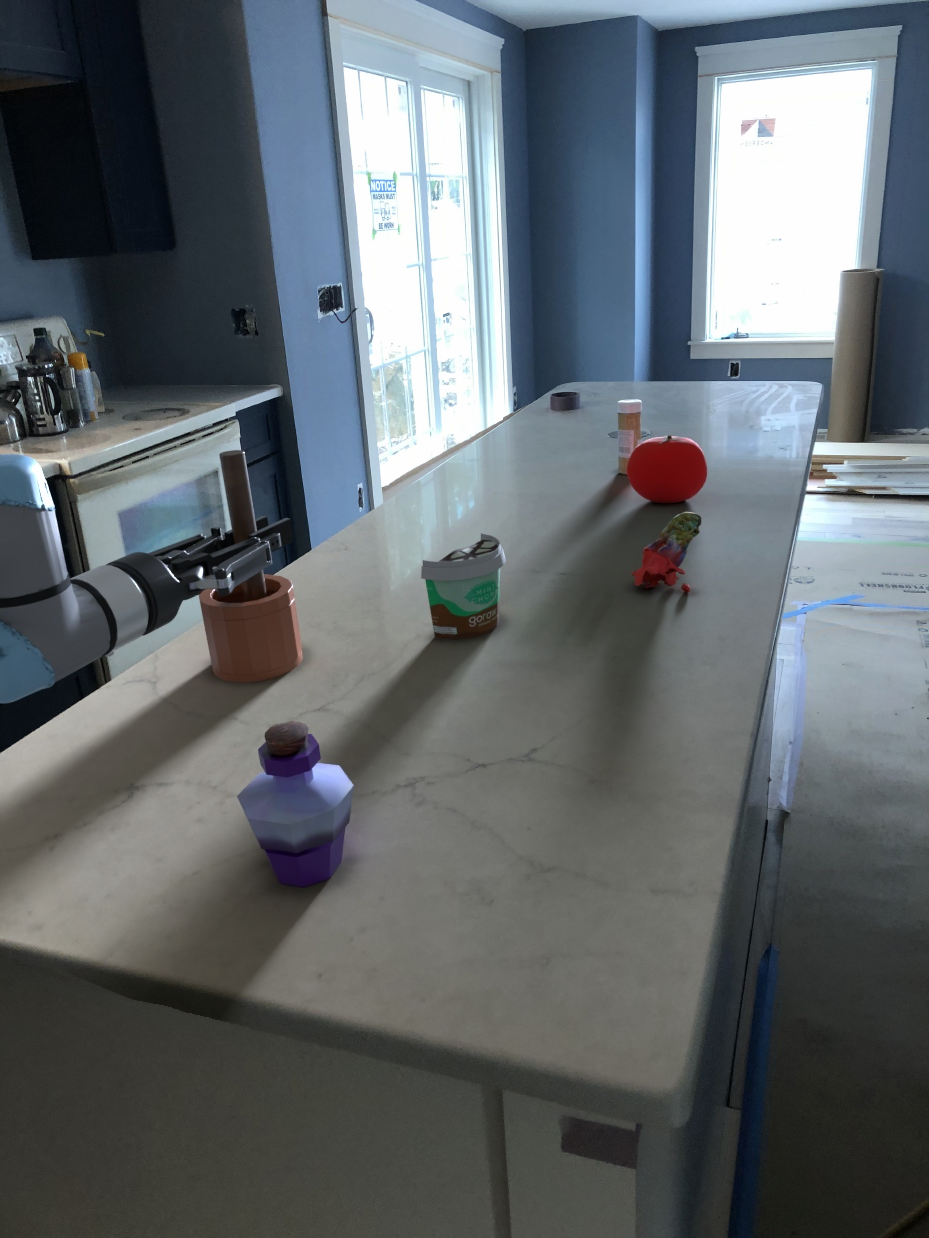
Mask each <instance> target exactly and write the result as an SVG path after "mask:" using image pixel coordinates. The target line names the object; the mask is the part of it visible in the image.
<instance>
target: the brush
mask: <svg viewBox="0 0 929 1238" xmlns="http://www.w3.org/2000/svg"><path fill="white" fill-rule="evenodd" d="M218 455H219V462H220V468H221V473H222V480H223V485H224V493H225V497H226V504H227V510H228V515H229V520H230V527H231V529H232V534H233V540H234V545H235V544H237V543H240V542H242V541H245V540H248V539H249V538H248V535H249V534H252V533H254V532H256V531H257V529H256V522H255V519H256V516H255V510H254V505H253V503H254V502H253V498H252V492H251V484H250V480H249V478H250V477H249V473H248V467H247V459H246V453H245V450H241V449H232V450H226V451H222V452H220V453H219V454H218ZM241 587H242V593H243V599H244V602H249V601H255V600H259V599H262V598H265V597H267V592H266V586H265V579H264V569H263V570H262V571H260V572H259V573H257V574H255V575H254V576H252V577H250V578H249V579H247V580H246V581H244V582H242V583H241Z"/></svg>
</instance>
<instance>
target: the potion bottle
mask: <svg viewBox="0 0 929 1238" xmlns="http://www.w3.org/2000/svg"><path fill="white" fill-rule="evenodd" d="M309 729H310V727H309V726H308V725H307V724H306V723H304V722H301V721H295V720H294V721H293V720H291V721H287V722H283V723H282V722H281V723H276V724H273V725H272V726H270V727H269V728H268V729H267V730H266V731H265V732H264V737H263V738H264V740H265V742H264V743H263V744H262V745H260V746H259V748H258V749H257V752H258V759H259V764H260V766H261V768H262V769H263V771H261V772H259V773H258V774H257V775H256V776H255V777H254V778H253V779H251V781H250V782H249V783H248V784H247V785H246V786H245V787H244V788H243V790H241V791H240V792H239V793H238V795H236V798H237V800H238V802H239V805H240V807H241V808H242V811H243V814H244V815H245V817H246V820H247V822H248V824H249V827H250V829H251V830H252V833H253V834H254V837H255V838H256V840H257V842H258V845H259V847H260V849H261V850H263V851H264V853H265V855H266V858H267V860H268V862H269V864H270V866H271V869H272V871H273V872H274V873H273V874H274V875H275V876H276V879H277V880H278V882H279V884H281V885H282V884H284V885H288V886H293V887H294V886H295V887H301V888H306V887H309V886H311V885H314V884H317V883H320V882H323V881H326V880H329V879H330V878H331V877H332V876H333V874H334V873H335V871H336V870H337V869H338V867H339V866H340V865H341V863H342V860H343V851H344V850H343V849H344V843H345V842H344V841H345V833H346V827H347V826H348V825H349V824H350V820H351V811H352V803H353V794H354V788H355V787H354V783H352V781H351V780H350V778H349V777H348V775H347V774H346V772H344V770H343V768H342V767H341V766H340V765H339V764H338V765H337V764H332V763H331V764H330V763H323V762H320V761H321V759H322V757H321V750H320V744H319V742H318V740H317V739H316V738H315V737H314V735H313V734H312V733H309Z"/></svg>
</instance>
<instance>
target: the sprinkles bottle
mask: <svg viewBox="0 0 929 1238" xmlns="http://www.w3.org/2000/svg"><path fill="white" fill-rule="evenodd" d="M642 411H643V402H642V400H641V399H634V398H633V399H631V398H630V399H622V400H618V401H617V403H616V412H617V456H618V459H617V460H618V468H617V472H618V473H619V474H621V475H627V465H628V461H629V459H630V456H631V454H632V452H633V451H634V449H635V448H636V447H637V446H638V445H640V444H641V443H642Z"/></svg>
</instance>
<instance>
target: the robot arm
mask: <svg viewBox="0 0 929 1238" xmlns="http://www.w3.org/2000/svg"><path fill="white" fill-rule="evenodd" d="M255 522H256V529H257V531H256V532H254V533H252V534H249V535H248V538H249V539H248V540H245V541H242V542H240V543H237V544H235V545H234V540H233V534H232V528H231V529H229V530H227V531H225V532H222V527H220V526H216V527H211V528H210V534H211V535H209V536H206V534H204V533H203V534H202V533H198V534H196V535H193V536H191V537H188V538H185V539H182V540H180V541H177V542H174V543H171V544H169V545H166V546H164V547H161V548H158V549H156V550H154V551H151V552H145V551H144V552H143V551H136V552H132V553H129V554H127V555H124V556H122V557H120V558H117V559H115V560H112V561H109V562H108V563H106V564H103V565H99V566H97V567H95V568H92V569H90V570H87V571H85V572H83V573H81V574H79V575H75V576H73V577H70V573H69V572H68V569H67V564H66V560H65V554H64V551H63V545H62V540H61V535H60V531H59V525H58V521H57V516H56V508H55V504H54V501H53V498H52V495H51V492H50V489H49V485H48V482H47V480H46V478H45V475H44V472H43V468H42V467H41V465H40V464H39V462H38V461H37V460H35V459H34V458H33V457H30V456H27V455H24V454H19V453H4V454H3V453H1V454H0V704H11V703H13V702H16V701H18V700H21V699H23V698H25V697H27V696H30V695H32V694H34V693H36V692H39V691H41V690H45V689H49V688H51V687H53V685H55V683H57V682H59V681H60V680H62V679H64V678H66V677H67V676H69V675H71V674H73V673H75V672H77V671H78V670H80V669H82V668H84V667H86V666H87V665H90V664H91V663H93V662H95V661H96V660H101V658H104V657H112V656H114V653H115V651H117V650H119V649H121V648H123V647H125V646H126V645H128V644H130V643H132V642H134V641H136V640H138V639H139V638H141V637H144V636H147V635H149V634H151V633H153V632H154V631H157V630H159V629H160V628H162V627H165V626H166V625H168V624H170V623H171V622H173V621H174V619H175V618H176V616H177V615H178V613H179V610H180V608H181V606H182V604H183V602H184V601H187V600H190V599H193V598H194V597H197V596H199V594H201V593H202V592H203V590H206V589H213V588H215V589H216V591H218V595H220V596H226V595H228V594H230V593H231V592H232V590H233V589H234V587H236V586H237V585H239V584H241V583H242V582H244V581H246V580H247V579H249V578H250V577H252V576H254V575H255V574H257V573H259V572H260V571H262V570H263V571H264V570H265V569H267V568H269V567H270V566H272V565H273V559H272V558H273V557H272V553H273V552H276V551H277V550H278V551H279V550H280V549H282V548H284V547H286V546H288V545H290V544H292V543H294V541H295V539H294V532H293V526H292V519H291V518H288V517H285V518H282V519H280V520H278V521H275V522H273V523H271V524H269V520H268V516H267V515H261V516H258V517H255Z"/></svg>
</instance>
